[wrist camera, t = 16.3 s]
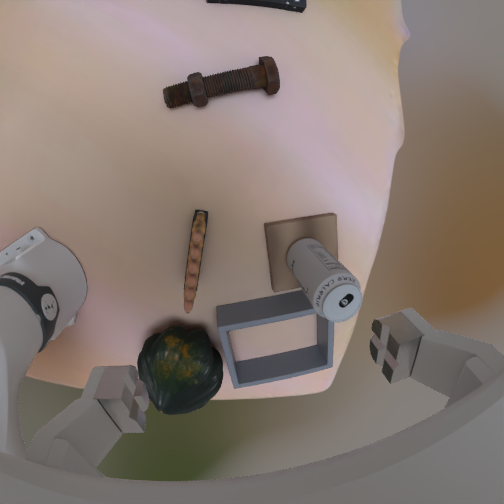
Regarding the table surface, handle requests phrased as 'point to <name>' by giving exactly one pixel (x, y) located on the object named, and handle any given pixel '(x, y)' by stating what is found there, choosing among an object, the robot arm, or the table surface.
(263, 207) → the table surface
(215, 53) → the table surface
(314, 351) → the grey rectangular open frame
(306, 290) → the energy drink can
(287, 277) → the walnut pad
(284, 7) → the disk drive
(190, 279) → the ammunition clip
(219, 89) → the bolt
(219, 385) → the squash
